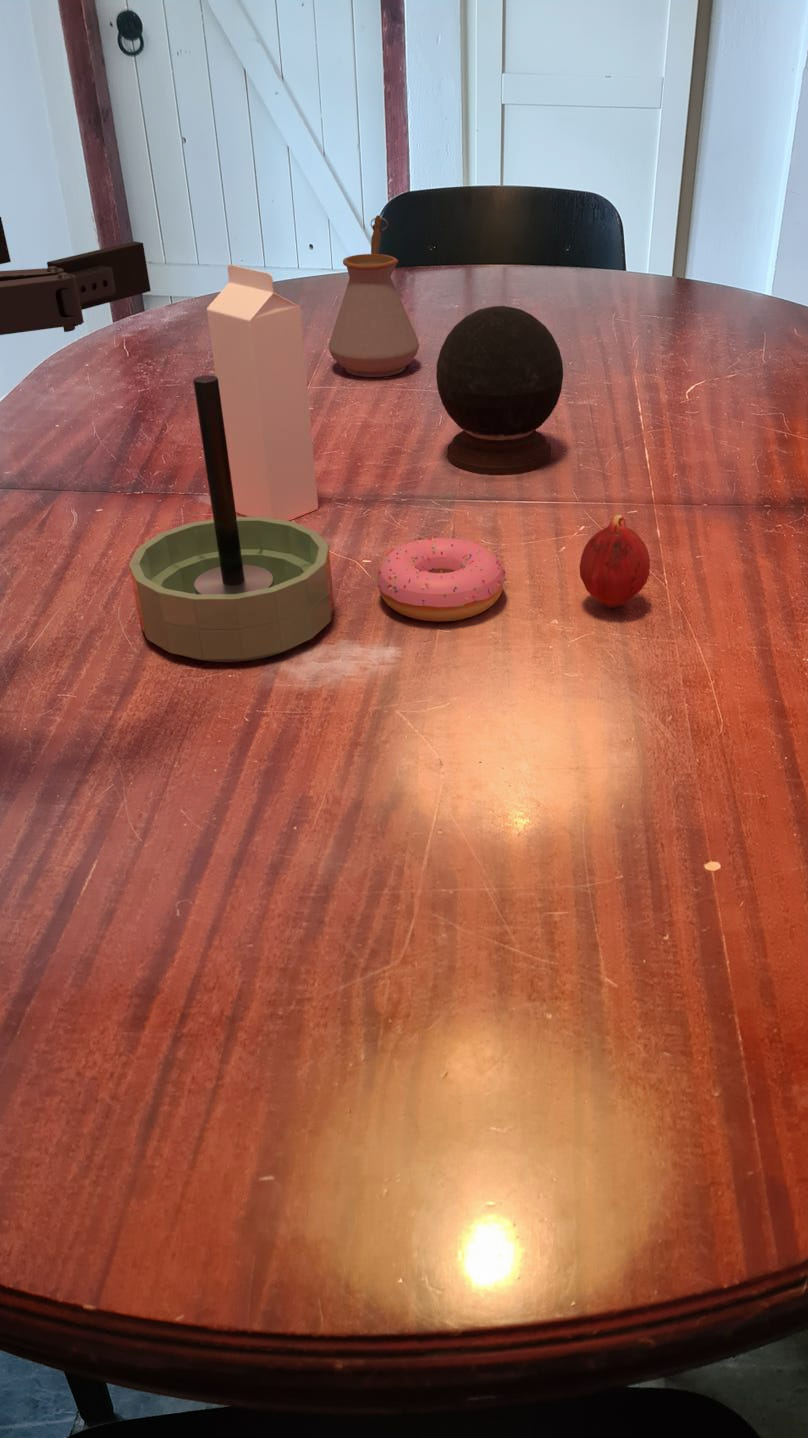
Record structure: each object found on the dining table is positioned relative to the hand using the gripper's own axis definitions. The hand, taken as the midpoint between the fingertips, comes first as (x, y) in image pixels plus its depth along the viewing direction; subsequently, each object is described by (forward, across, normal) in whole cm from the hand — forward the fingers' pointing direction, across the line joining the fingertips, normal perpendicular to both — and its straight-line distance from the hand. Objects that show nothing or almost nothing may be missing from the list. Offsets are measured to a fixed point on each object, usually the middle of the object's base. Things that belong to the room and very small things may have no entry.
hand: (70, 251), depth 78 cm
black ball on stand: (+54, -5, -30) cm, 62 cm away
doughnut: (+23, +11, -30) cm, 39 cm away
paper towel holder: (+10, 0, -29) cm, 31 cm away
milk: (+29, -14, -30) cm, 44 cm away
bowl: (+10, 0, -30) cm, 32 cm away
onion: (+30, +24, -30) cm, 49 cm away
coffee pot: (+74, -39, -30) cm, 89 cm away
